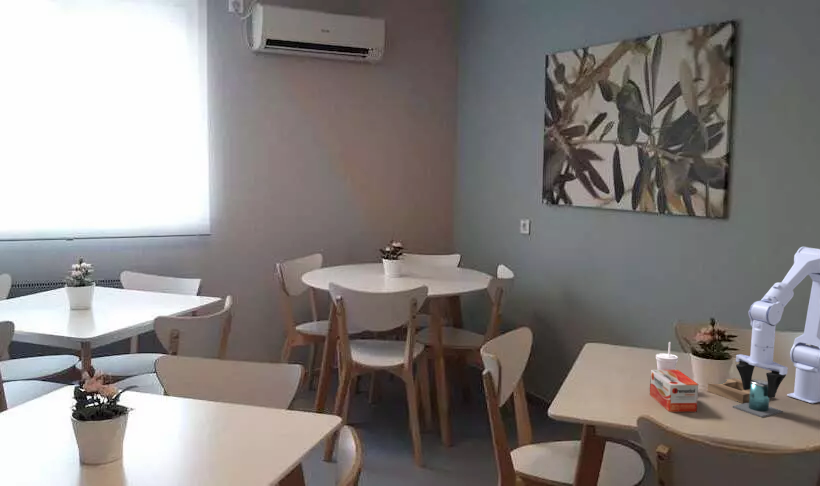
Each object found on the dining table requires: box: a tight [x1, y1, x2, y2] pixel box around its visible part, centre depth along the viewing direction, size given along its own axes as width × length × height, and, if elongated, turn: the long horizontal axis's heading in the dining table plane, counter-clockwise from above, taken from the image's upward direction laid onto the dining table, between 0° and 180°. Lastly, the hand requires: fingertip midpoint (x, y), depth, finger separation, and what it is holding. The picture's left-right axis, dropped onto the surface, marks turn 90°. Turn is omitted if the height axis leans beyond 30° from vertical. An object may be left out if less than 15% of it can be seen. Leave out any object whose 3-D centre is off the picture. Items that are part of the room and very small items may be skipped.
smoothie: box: [655, 341, 679, 370], centre depth 227 cm, size 6×6×14 cm
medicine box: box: [649, 369, 699, 413], centre depth 213 cm, size 15×8×8 cm, turn 3°
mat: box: [732, 402, 784, 418], centre depth 209 cm, size 9×9×1 cm
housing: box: [707, 377, 750, 404], centre depth 222 cm, size 12×12×2 cm
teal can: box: [749, 378, 770, 412], centre depth 208 cm, size 5×5×8 cm
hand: (758, 393), depth 208 cm, fingers open, 7 cm apart
